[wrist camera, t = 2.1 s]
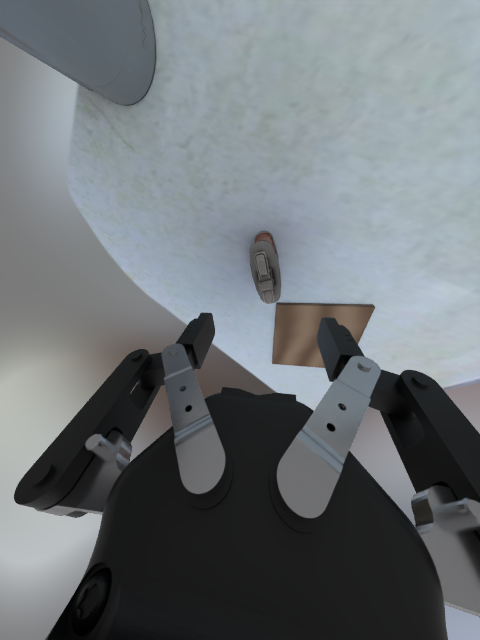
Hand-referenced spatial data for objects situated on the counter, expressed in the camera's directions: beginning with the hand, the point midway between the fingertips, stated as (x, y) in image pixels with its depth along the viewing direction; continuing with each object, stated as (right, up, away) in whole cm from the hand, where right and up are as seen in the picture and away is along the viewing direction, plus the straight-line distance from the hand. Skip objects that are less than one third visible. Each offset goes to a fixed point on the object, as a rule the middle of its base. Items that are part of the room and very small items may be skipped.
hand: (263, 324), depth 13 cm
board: (+13, -3, +22) cm, 26 cm away
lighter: (+3, +10, +14) cm, 18 cm away
